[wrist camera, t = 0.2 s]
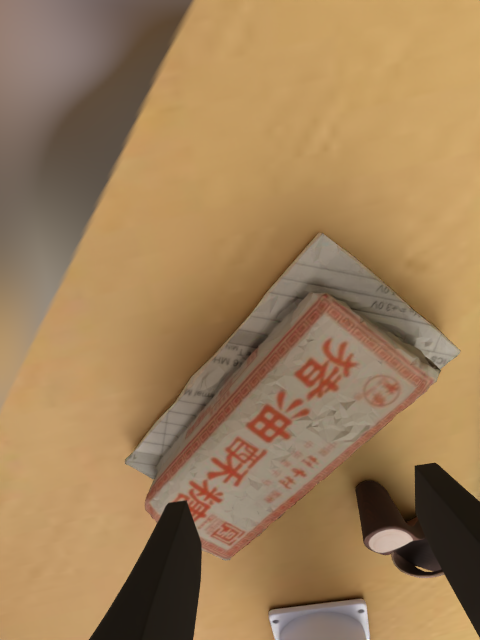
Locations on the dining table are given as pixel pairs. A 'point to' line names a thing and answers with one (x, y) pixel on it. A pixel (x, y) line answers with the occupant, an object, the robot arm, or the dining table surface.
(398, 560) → the heeled mule
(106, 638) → the robot arm
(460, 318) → the dining table surface
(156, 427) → the packaged product
